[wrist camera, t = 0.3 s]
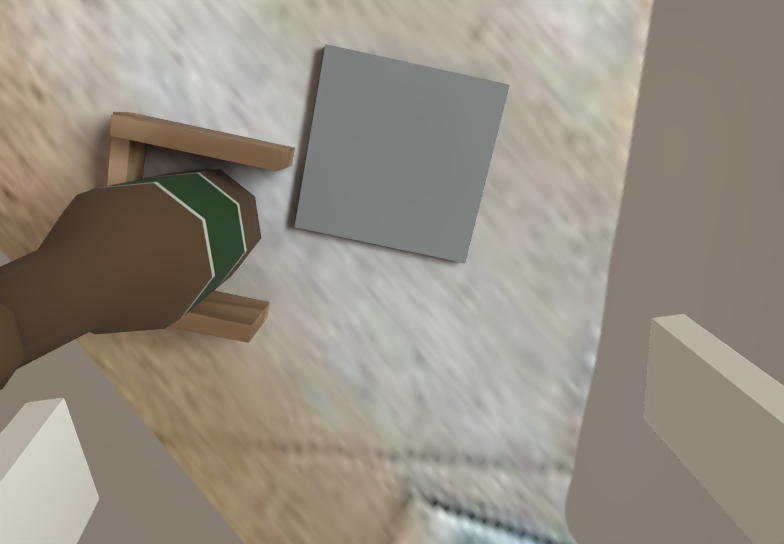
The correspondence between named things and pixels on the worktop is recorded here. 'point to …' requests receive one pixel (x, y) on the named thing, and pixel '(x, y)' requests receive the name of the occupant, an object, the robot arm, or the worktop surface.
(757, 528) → the robot arm
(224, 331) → the cradle
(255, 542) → the worktop surface
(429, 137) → the coaster
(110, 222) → the beer bottle
